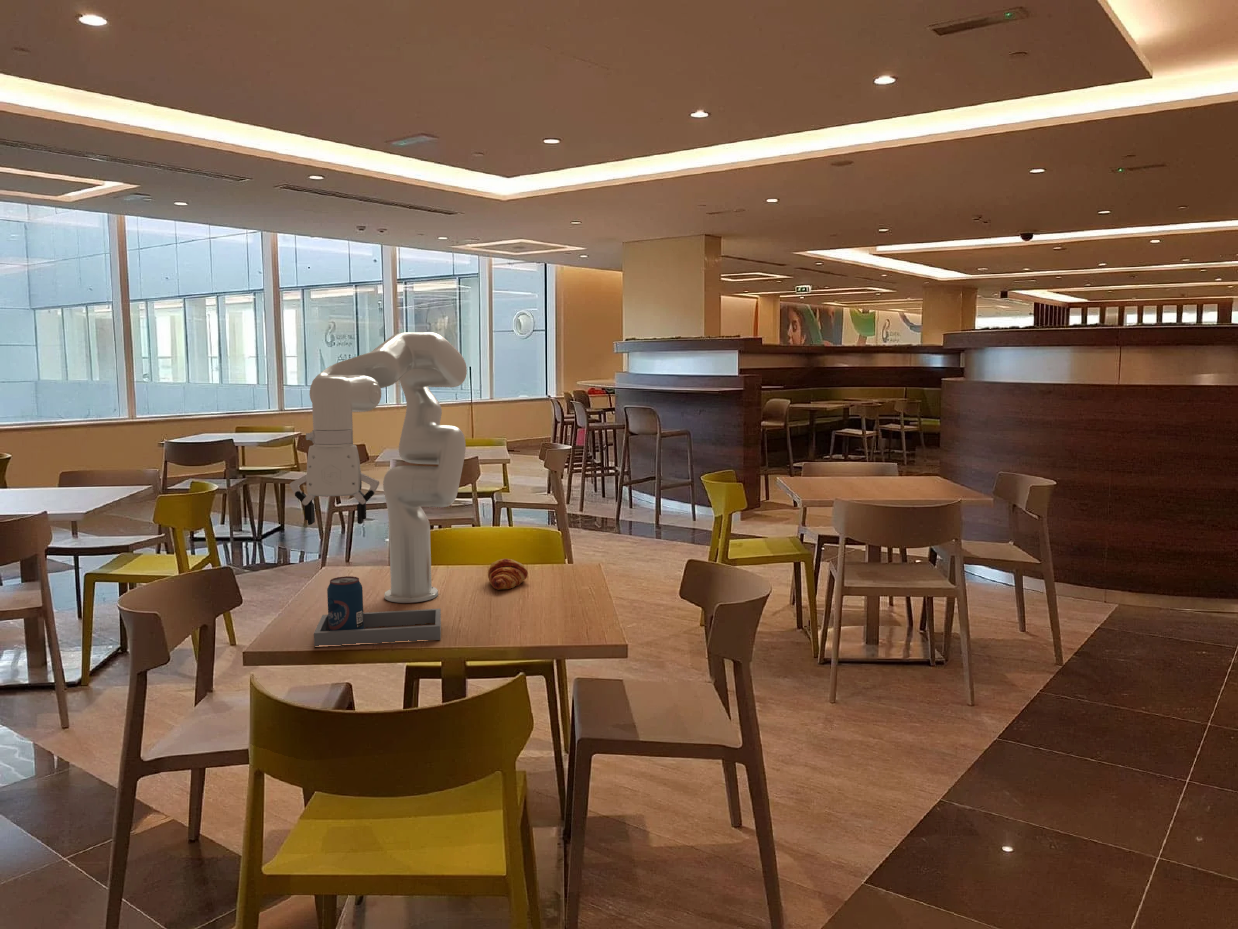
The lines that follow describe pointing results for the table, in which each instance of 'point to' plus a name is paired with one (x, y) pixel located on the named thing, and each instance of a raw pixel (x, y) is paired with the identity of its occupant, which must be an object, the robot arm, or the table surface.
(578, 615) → the table surface
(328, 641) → the plastic frame
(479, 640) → the table surface
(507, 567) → the croissant
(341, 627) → the soda can
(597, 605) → the table surface
